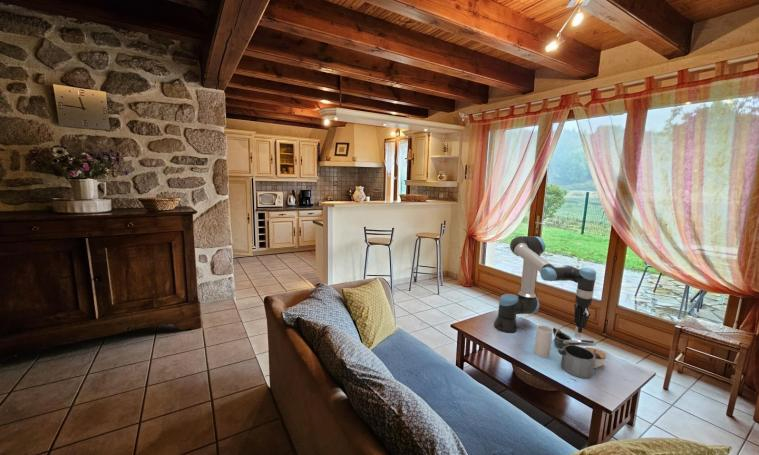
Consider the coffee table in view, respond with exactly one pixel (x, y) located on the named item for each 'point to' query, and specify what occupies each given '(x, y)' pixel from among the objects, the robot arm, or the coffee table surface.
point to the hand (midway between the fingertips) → (577, 336)
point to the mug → (560, 337)
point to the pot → (578, 361)
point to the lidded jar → (599, 361)
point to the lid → (580, 342)
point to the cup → (543, 341)
